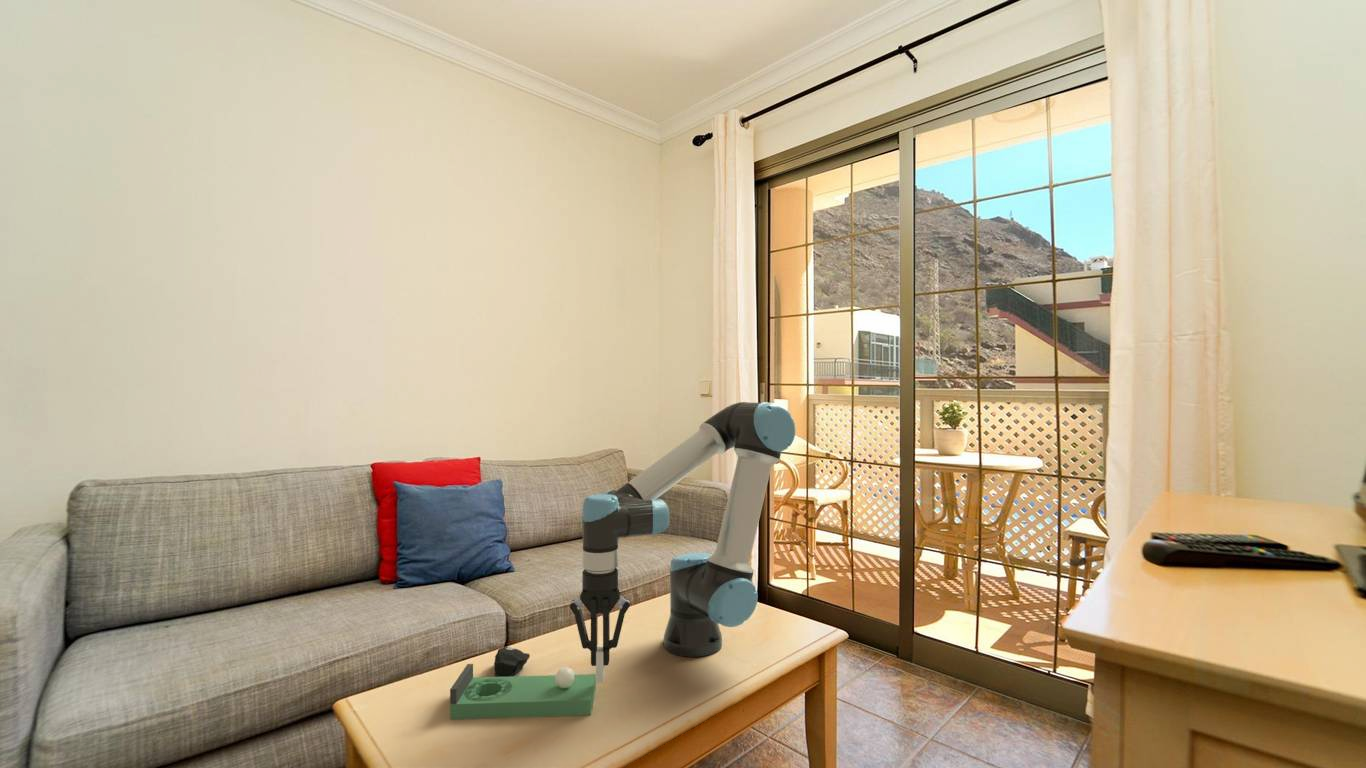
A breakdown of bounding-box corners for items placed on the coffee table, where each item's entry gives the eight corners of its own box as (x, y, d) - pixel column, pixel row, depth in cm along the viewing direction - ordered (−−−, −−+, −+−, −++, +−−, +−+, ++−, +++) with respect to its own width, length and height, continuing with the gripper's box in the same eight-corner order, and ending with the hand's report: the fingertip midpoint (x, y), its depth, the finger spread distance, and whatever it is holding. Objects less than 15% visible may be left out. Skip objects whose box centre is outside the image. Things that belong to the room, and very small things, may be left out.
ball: (575, 682, 126) (575, 663, 126) (573, 691, 122) (573, 672, 122) (556, 682, 126) (556, 664, 126) (553, 692, 122) (553, 673, 122)
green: (595, 687, 130) (595, 660, 130) (590, 714, 119) (590, 685, 119) (467, 691, 128) (467, 663, 129) (450, 719, 117) (450, 689, 118)
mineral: (475, 679, 134) (475, 653, 134) (502, 662, 143) (502, 638, 143) (510, 688, 130) (511, 661, 130) (536, 670, 138) (536, 645, 139)
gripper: (631, 563, 129) (631, 671, 129) (571, 563, 128) (571, 672, 128) (630, 573, 121) (630, 688, 121) (566, 574, 121) (566, 689, 120)
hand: (600, 680), depth 124 cm, fingers closed
